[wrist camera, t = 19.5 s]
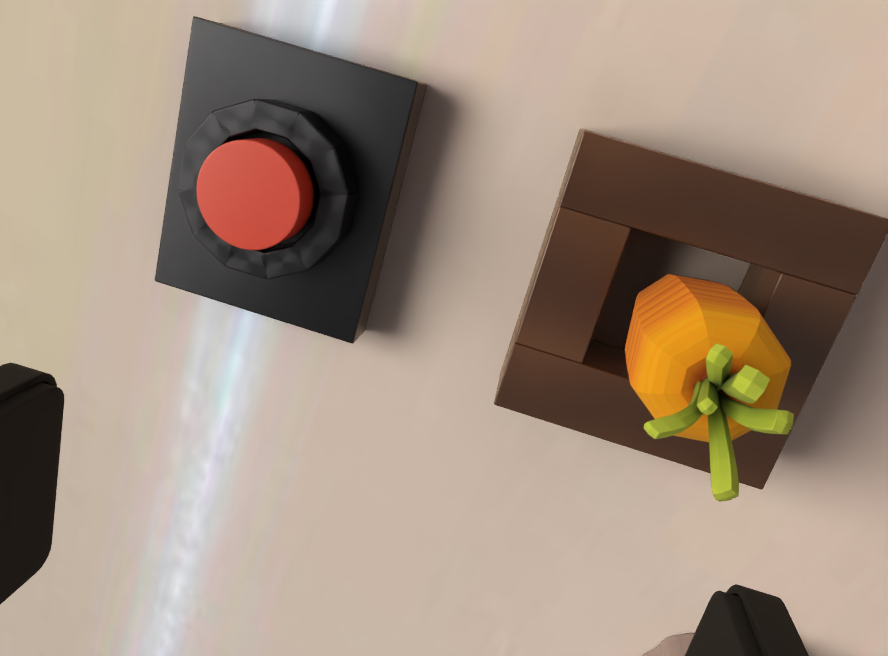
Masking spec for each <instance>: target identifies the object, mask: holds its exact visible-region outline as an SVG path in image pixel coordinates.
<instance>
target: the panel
mask: <svg viewBox="0 0 888 656" xmlns="http://www.w3.org/2000/svg"><path fill="white" fill-rule="evenodd" d="M426 86H427V84H426V83H423V82H420V81H416V80H413V79H409V78H406V77H402V76H399V75H396V74H392V73H389V72H385V71H382V70H378V69H375V68H372V67H368V66H365V65H361V64H358V63H354V62H351V61H348V60H344V59H341V58H337V57H334V56H330V55H327V54H324V53H320V52H317V51H313V50H310V49H306V48H303V47H300V46H296V45H293V44H289V43H286V42H282V41H279V40H276V39H272V38H269V37H265V36H262V35H258V34H255V33H252V32H248V31H245V30H241V29H238V28H234V27H231V26H228V25H224V24H221V23H217V22H214V21H210V20H206V19H203V18H199V17H193V22H192V28H191V35H190V42H189V49H188V56H187V63H186V70H185V77H184V83H183V90H182V97H181V104H180V111H179V118H178V125H177V132H176V138H175V145H174V152H173V159H172V166H171V173H170V180H169V187H168V193H167V200H166V207H165V214H164V221H163V228H162V235H161V242H160V248H159V255H158V262H157V269H156V276H155V281H157V282H160V283H163V284H166V285H169V286H172V287H176V288H179V289H182V290H185V291H188V292H191V293H195V294H198V295H201V296H204V297H207V298H210V299H214V300H217V301H220V302H223V303H226V304H229V305H232V306H236V307H239V308H242V309H245V310H248V311H251V312H255V313H258V314H261V315H264V316H267V317H270V318H274V319H277V320H280V321H283V322H286V323H289V324H292V325H296V326H299V327H302V328H305V329H308V330H311V331H315V332H318V333H321V334H324V335H327V336H330V337H334V338H337V339H340V340H343V341H346V342H349V343H354V342H355V341H356V340H357V338H358V337H359V336H360V335H361V334H362V333H363V332H364V330H365V328H366V324H367V320H368V316H369V312H370V308H371V304H372V300H373V296H374V292H375V288H376V285H377V281H378V277H379V273H380V269H381V265H382V261H383V257H384V253H385V249H386V245H387V241H388V237H389V233H390V229H391V225H392V221H393V217H394V213H395V209H396V205H397V201H398V197H399V193H400V189H401V185H402V182H403V178H404V174H405V170H406V166H407V162H408V158H409V154H410V150H411V146H412V142H413V138H414V134H415V130H416V126H417V122H418V118H419V114H420V110H421V106H422V102H423V98H424V94H425V90H426ZM256 138H264V139H270V140H274V141H277V142H280V143H282V144H284V145H286V146H287V147H289V148H290V149H291V150H293V151H294V152H295V153H296V154H297V155H298V156H299V157H300V158H301V160H302V161H303V162H304V164H305V165H306V167H307V169H308V171H309V173H310V176H311V179H312V183H313V188H314V203H313V208H312V212H311V215H310V217H309V219H308V221H307V223H306V224H305V226H304V227H303V228H302V229H301V230H300V231H299V232H298V233H297V234H296V235H294V236H293V237H291V238H289V239H287V240H285V241H283V242H281V243H279V244H276V245H274V246H272V247H269V248H266V249H262V250H246V249H241V248H238V247H235V246H233V245H231V244H229V243H227V242H225V241H224V240H222V239H221V238H220V237H219V236H217V235H216V234H215V233H214V232H213V230H212V229H211V228H210V227H209V226H208V224H207V223H206V221H205V219H204V217H203V216H202V213H201V211H200V208H199V204H198V199H197V180H198V175H199V172H200V169H201V167H202V165H203V163H204V161H205V160H206V158H207V157H208V156H209V155H210V154H211V153H212V152H213V151H214V150H215V149H216V148H218V147H219V146H221V145H223V144H225V143H228V142H230V141H235V140H243V139H256Z"/></svg>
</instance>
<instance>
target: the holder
mask: <svg viewBox="0 0 888 656" xmlns="http://www.w3.org/2000/svg"><path fill="white" fill-rule="evenodd" d="M631 227H632V228H635V229H638V230H642V231H645V232H648V233H652V234H655V235H658V236H662V237H665V238H668V239H672V240H675V241H678V242H682V243H685V244H688V245H692V246H695V247H698V248H702V249H705V250H708V251H712V252H715V253H718V254H722V255H725V256H729V257H732V258H735V259H739V260H742V261H745V262H749V263H751V264H750V266H749V269H748V271H747V273H746V276H745V278H744V280H743V283H742V285H741V287H740V290H739V292H738V294H740V295H741V296H742V297H744V298H745V299H746V300H747V301H748V302H750V303H751V304H752V305H753V306H754V307H756V308H757V310H758V311H759V313H760V314H761V316H762V317H763V319H764V320H765V322H766V323H767V325H768V326H769V328H770V329H771V331H772V332H773V334H774V335H775V337H776V338H777V340H778V341H779V343H780V344H781V346H782V347H783V349H784V350H785V352H786V353H787V355H788V356H789V358H790V359H791V367H790V370H789V373H788V376H787V380H786V383H785V386H784V389H783V392H782V396H781V399H780V402H779V405H778V408H777V410H785V411H789V412H791V413H793V414H794V418H793V425H792V427H793V426H794V423H795V421H796V419H797V417H798V415H799V413H800V411H801V409H802V407H803V405H804V403H805V401H806V399H807V397H808V395H809V393H810V391H811V388H812V386H813V384H814V382H815V380H816V378H817V376H818V374H819V372H820V370H821V368H822V366H823V364H824V362H825V360H826V358H827V356H828V354H829V351H830V349H831V347H832V345H833V343H834V341H835V339H836V337H837V335H838V333H839V331H840V329H841V327H842V325H843V323H844V321H845V319H846V316H847V314H848V312H849V310H850V308H851V306H852V304H853V302H854V300H855V298H856V295H855V294H858V292H859V290H860V288H861V286H862V284H863V282H864V280H865V278H866V276H867V274H868V272H869V270H870V268H871V266H872V264H873V262H874V259H875V257H876V255H877V253H878V251H879V249H880V247H881V245H882V243H883V241H884V239H885V237H886V235H887V233H888V219H886V218H883V217H880V216H877V215H874V214H871V213H867V212H864V211H861V210H858V209H855V208H852V207H848V206H845V205H841V204H838V203H835V202H831V201H828V200H824V199H821V198H817V197H814V196H811V195H807V194H804V193H800V192H797V191H793V190H790V189H787V188H783V187H780V186H776V185H773V184H769V183H766V182H763V181H759V180H756V179H752V178H749V177H745V176H742V175H739V174H735V173H732V172H728V171H725V170H721V169H718V168H715V167H711V166H708V165H704V164H701V163H697V162H694V161H691V160H687V159H684V158H680V157H677V156H673V155H670V154H666V153H663V152H660V151H656V150H653V149H649V148H646V147H642V146H639V145H636V144H632V143H629V142H625V141H622V140H618V139H615V138H612V137H608V136H605V135H601V134H598V133H594V132H591V131H588V130H584V129H580V130H579V133H578V137H577V140H576V143H575V146H574V149H573V152H572V155H571V158H570V161H569V164H568V167H567V170H566V173H565V176H564V179H563V183H562V186H561V189H560V192H559V196H558V198H557V201H556V204H555V207H554V210H553V213H552V216H551V219H550V222H549V226H548V229H547V232H546V235H545V238H544V241H543V244H542V247H541V250H540V253H539V256H538V259H537V262H536V265H535V269H534V272H533V275H532V278H531V281H530V284H529V287H528V290H527V293H526V296H525V299H524V302H523V305H522V308H521V311H520V315H519V319H518V321H517V324H516V327H515V330H514V333H513V336H512V339H511V342H510V345H509V348H508V351H507V354H506V357H505V360H504V364H503V367H502V370H501V373H500V378H499V382H498V387H497V392H496V397H495V401H494V404H495V405H497V406H500V407H504V408H507V409H510V410H513V411H516V412H519V413H522V414H526V415H529V416H532V417H535V418H538V419H541V420H544V421H548V422H551V423H554V424H557V425H560V426H563V427H566V428H570V429H573V430H576V431H579V432H582V433H585V434H588V435H592V436H595V437H598V438H601V439H604V440H607V441H610V442H614V443H617V444H620V445H623V446H626V447H629V448H632V449H636V450H639V451H642V452H645V453H648V454H651V455H654V456H658V457H661V458H664V459H667V460H670V461H673V462H676V463H680V464H683V465H686V466H689V467H692V468H695V469H698V470H702V471H705V472H708V473H711V470H710V449H709V442H705V441H699V440H694V439H689V438H684V437H678V436H673V435H672V436H669V437H666V438H660V439H654V438H653V437H651V436H650V435H649V434H648V433H647V432H646V431H645V429H644V424H645V423H646V422H648V421H651V420H654V417H653V416H652V414H651V413H650V412H649V410H648V409H647V407H646V406H645V405H644V403H643V402H642V400H641V399H640V398H639V396H638V395H637V393H636V392H635V391H634V389H633V388H632V386H631V384H630V380H629V375H628V369H627V364H626V355H625V350H621V349H618V348H615V347H612V346H608V345H605V344H602V343H599V342H596V341H592V340H591V338H592V335H593V333H594V330H595V327H596V324H597V322H598V319H599V316H600V313H601V311H602V308H603V305H604V302H605V300H606V297H607V294H608V292H609V289H610V286H611V283H612V281H613V278H614V275H615V272H616V270H617V267H618V264H619V261H620V259H621V256H622V253H623V250H624V248H625V245H626V242H627V240H628V237H629V234H630V231H631ZM792 427H791V428H792ZM790 432H791V429H790V431H789V433H788V434H770V433H763V432H758V431H754V430H751V431H749V432H747V433H745V434H743V435H741V436H740V437H738V438H736V439H734V440H732V445H733V450H734V455H735V460H736V465H737V472H738V481H739V483H742V484H746V485H749V486H752V487H755V488H758V489H763V488H764V486H765V484H766V481H767V479H768V477H769V475H770V473H771V471H772V469H773V467H774V465H775V463H776V461H777V459H778V457H779V455H780V453H781V451H782V449H783V446H784V444H785V442H786V440H787V438H788V436H789V434H790Z"/></svg>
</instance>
